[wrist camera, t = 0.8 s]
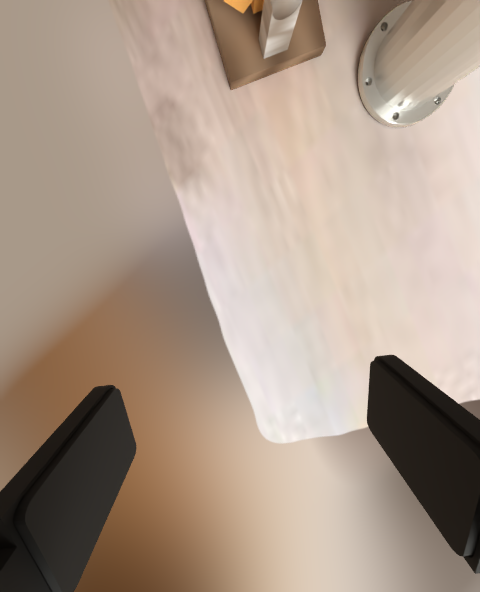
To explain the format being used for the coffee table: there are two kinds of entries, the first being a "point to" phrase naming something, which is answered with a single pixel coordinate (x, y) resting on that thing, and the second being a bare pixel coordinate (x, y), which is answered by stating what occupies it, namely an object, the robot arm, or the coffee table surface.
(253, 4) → the collar
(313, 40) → the pipe stand
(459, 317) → the coffee table surface
